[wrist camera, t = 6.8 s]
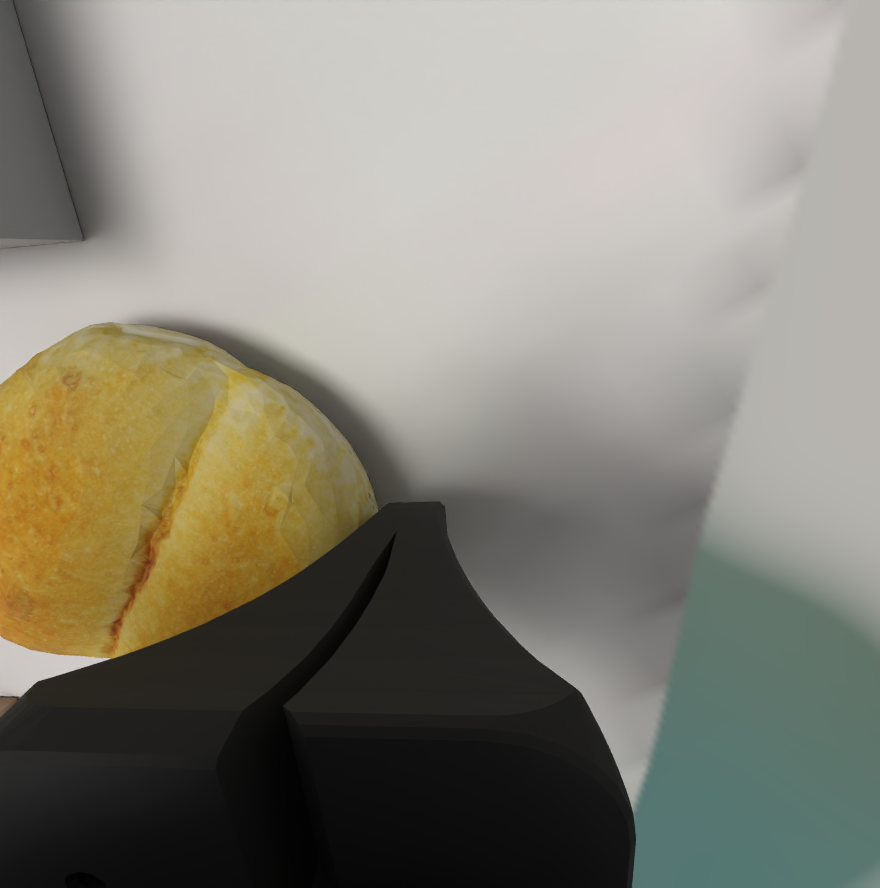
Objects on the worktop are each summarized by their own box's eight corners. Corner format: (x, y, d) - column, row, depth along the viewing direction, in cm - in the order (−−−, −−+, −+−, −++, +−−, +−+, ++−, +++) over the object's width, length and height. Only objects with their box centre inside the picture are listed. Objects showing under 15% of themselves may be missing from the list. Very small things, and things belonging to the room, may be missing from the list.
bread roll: (299, 697, 14) (233, 854, 11) (1, 529, 13) (-191, 639, 9) (468, 482, 12) (458, 593, 8) (107, 245, 10) (-106, 243, 7)
